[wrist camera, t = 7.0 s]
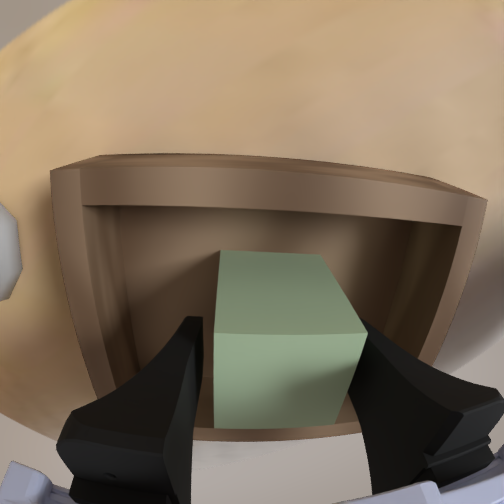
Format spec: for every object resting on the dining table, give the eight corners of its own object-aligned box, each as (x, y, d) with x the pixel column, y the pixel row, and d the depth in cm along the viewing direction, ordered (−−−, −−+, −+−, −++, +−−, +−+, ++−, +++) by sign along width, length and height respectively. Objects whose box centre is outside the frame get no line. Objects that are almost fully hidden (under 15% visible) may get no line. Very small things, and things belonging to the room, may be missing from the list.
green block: (320, 254, 14) (368, 333, 9) (305, 334, 16) (334, 424, 11) (220, 250, 14) (213, 332, 8) (218, 332, 16) (214, 428, 10)
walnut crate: (430, 177, 14) (487, 200, 10) (375, 375, 19) (399, 425, 15) (100, 155, 13) (50, 170, 9) (127, 374, 18) (110, 429, 14)
